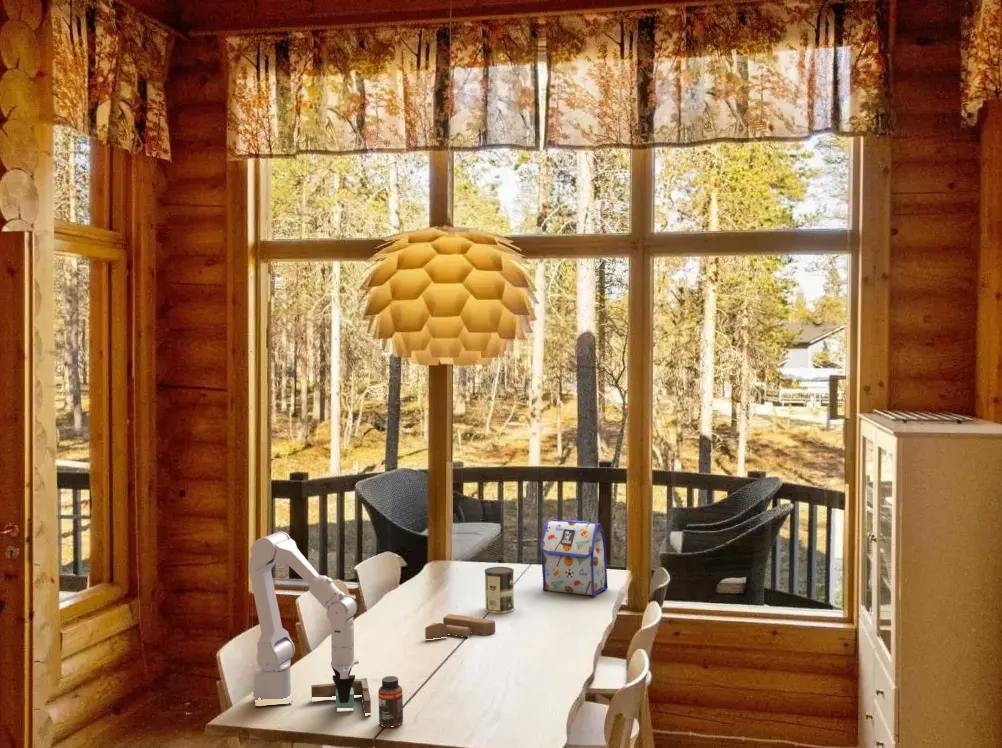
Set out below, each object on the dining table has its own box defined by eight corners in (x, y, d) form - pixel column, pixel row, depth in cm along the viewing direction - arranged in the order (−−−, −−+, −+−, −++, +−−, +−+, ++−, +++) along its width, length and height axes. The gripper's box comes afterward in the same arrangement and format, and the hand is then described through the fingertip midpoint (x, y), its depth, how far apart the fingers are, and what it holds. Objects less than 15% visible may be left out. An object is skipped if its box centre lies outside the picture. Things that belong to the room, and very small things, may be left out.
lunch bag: (537, 592, 343) (536, 522, 342) (555, 582, 357) (554, 514, 357) (593, 599, 332) (592, 527, 331) (609, 588, 347) (609, 519, 346)
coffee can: (514, 605, 326) (513, 566, 325) (513, 613, 316) (513, 573, 315) (485, 605, 326) (485, 566, 326) (484, 613, 316) (484, 573, 315)
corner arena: (312, 721, 226) (311, 703, 225) (311, 700, 239) (311, 683, 239) (370, 715, 229) (370, 697, 229) (366, 695, 242) (366, 678, 242)
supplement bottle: (404, 718, 227) (403, 673, 227) (402, 728, 221) (401, 682, 221) (380, 719, 227) (379, 674, 226) (377, 729, 221) (377, 683, 220)
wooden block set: (446, 610, 302) (495, 616, 295) (446, 627, 303) (496, 633, 295) (422, 624, 287) (473, 631, 280) (422, 642, 287) (473, 649, 280)
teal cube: (354, 711, 232) (353, 694, 232) (336, 713, 231) (336, 695, 231) (353, 704, 236) (353, 687, 236) (335, 706, 235) (335, 689, 235)
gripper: (360, 652, 227) (360, 706, 227) (356, 634, 241) (357, 685, 242) (331, 654, 225) (332, 708, 226) (329, 636, 240) (330, 687, 240)
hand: (343, 696), depth 234 cm, fingers open, 7 cm apart
